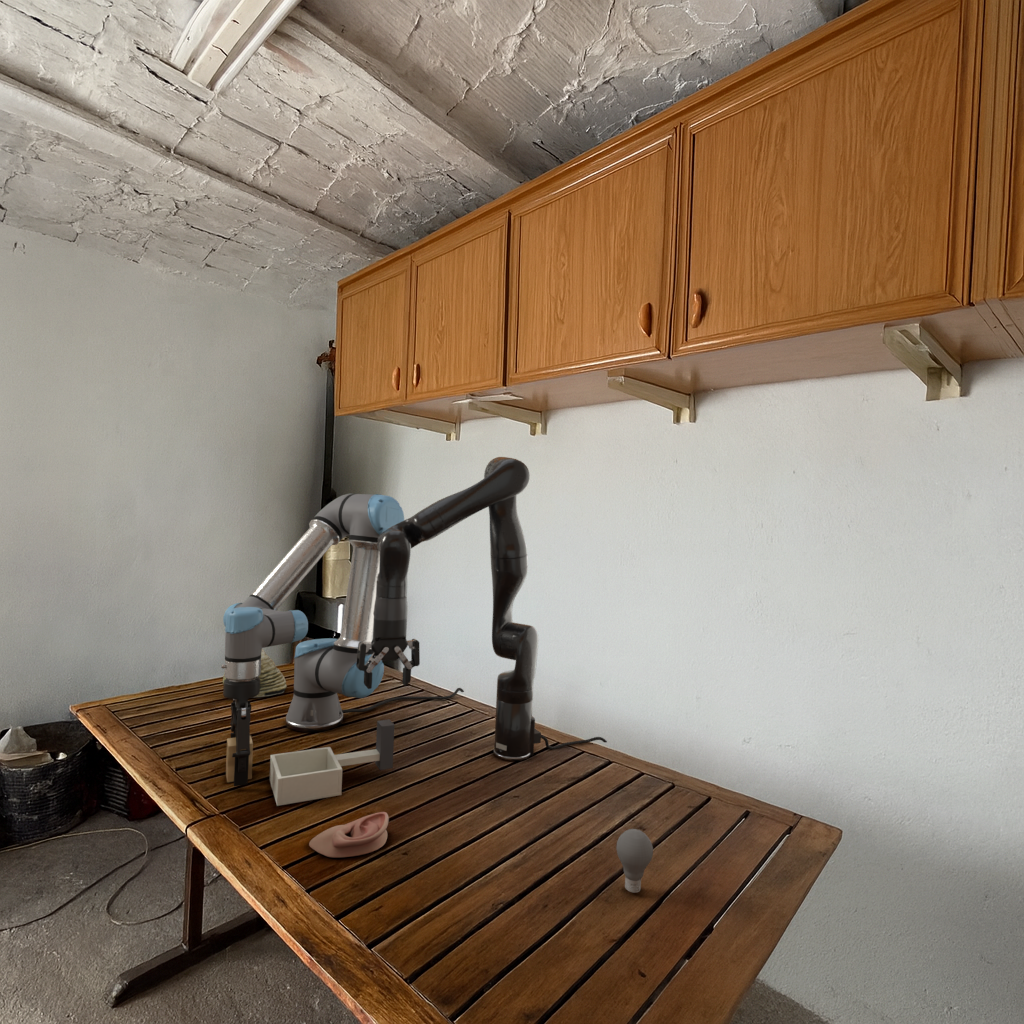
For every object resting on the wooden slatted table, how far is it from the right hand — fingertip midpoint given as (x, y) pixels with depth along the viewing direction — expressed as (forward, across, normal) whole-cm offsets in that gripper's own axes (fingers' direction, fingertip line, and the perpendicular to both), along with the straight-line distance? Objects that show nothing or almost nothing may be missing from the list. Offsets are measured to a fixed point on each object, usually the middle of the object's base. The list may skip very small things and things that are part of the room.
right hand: (387, 686), depth 145 cm
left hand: (+20, -30, +11) cm, 38 cm away
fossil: (+20, -21, +70) cm, 76 cm away
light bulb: (+21, +26, -58) cm, 67 cm away
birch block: (+21, -30, +11) cm, 38 cm away
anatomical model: (+21, -14, -25) cm, 36 cm away
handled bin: (+21, -11, 0) cm, 23 cm away
